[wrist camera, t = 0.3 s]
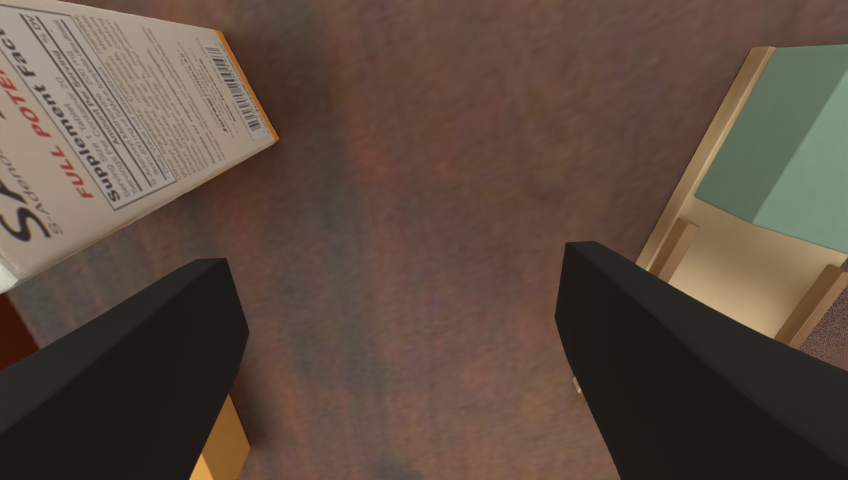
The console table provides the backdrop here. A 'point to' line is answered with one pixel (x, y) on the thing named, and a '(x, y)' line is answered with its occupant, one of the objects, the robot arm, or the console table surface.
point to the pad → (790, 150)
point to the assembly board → (740, 245)
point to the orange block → (223, 448)
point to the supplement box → (108, 124)
